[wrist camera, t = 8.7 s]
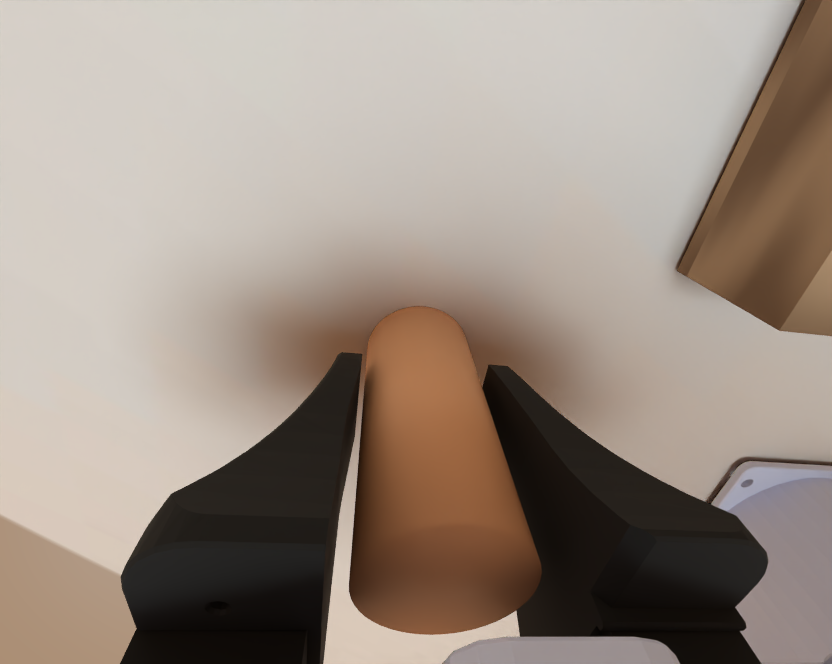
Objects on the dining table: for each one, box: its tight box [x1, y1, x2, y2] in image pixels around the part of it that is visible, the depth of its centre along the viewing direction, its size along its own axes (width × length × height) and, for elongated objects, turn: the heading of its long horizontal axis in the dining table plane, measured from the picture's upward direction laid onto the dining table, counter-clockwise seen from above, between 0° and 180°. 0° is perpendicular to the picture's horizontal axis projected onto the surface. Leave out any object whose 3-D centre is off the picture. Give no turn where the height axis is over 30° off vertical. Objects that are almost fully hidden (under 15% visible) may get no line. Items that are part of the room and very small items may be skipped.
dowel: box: [349, 306, 542, 635], centre depth 11 cm, size 4×4×8 cm
